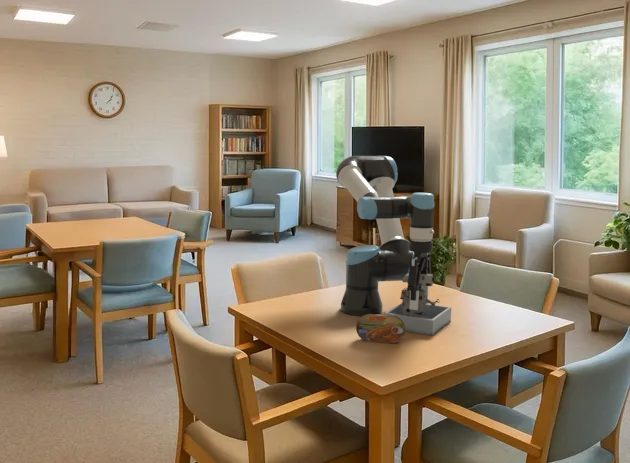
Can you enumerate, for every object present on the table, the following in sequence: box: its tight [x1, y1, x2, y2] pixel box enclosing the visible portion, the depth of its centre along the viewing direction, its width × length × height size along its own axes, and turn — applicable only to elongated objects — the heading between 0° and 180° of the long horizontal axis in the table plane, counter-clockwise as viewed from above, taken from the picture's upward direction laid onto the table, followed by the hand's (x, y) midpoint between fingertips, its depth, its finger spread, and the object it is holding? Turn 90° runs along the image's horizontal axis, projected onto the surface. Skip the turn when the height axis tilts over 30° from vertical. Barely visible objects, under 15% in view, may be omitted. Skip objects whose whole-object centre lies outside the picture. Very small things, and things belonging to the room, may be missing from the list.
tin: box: [355, 314, 406, 344], centre depth 194 cm, size 15×3×8 cm, turn 77°
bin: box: [384, 302, 452, 337], centre depth 212 cm, size 17×19×5 cm
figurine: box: [399, 273, 440, 317], centre depth 211 cm, size 9×12×15 cm
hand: (418, 306), depth 212 cm, fingers closed on figurine, 9 cm apart
